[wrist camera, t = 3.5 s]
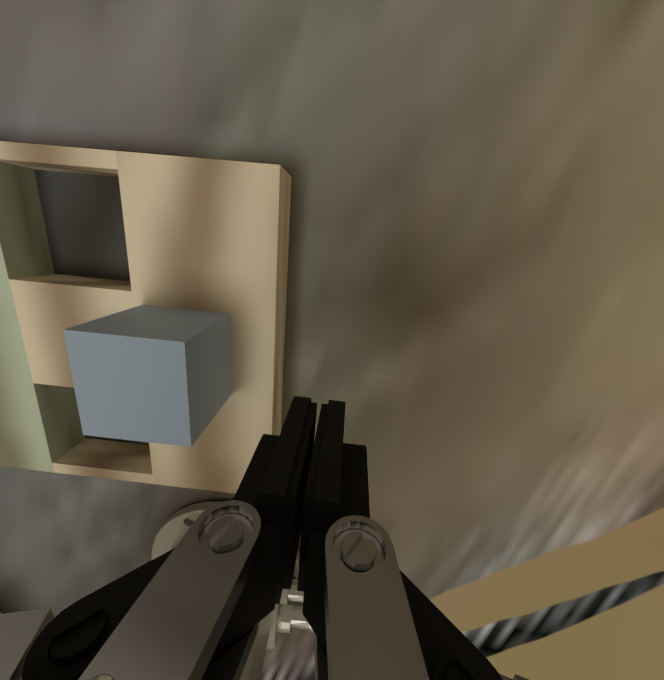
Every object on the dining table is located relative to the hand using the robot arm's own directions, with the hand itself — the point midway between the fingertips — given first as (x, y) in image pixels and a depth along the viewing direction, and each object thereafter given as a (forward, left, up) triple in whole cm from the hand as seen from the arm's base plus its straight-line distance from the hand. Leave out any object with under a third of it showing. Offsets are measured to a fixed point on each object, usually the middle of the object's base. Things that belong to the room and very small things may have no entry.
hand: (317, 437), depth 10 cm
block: (+8, +1, -8) cm, 11 cm away
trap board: (+14, +1, -11) cm, 18 cm away
